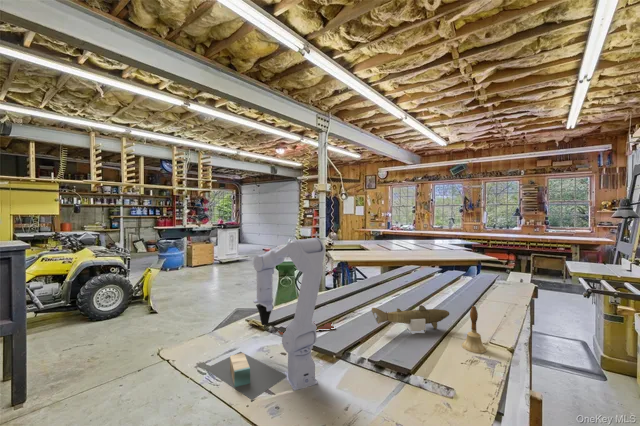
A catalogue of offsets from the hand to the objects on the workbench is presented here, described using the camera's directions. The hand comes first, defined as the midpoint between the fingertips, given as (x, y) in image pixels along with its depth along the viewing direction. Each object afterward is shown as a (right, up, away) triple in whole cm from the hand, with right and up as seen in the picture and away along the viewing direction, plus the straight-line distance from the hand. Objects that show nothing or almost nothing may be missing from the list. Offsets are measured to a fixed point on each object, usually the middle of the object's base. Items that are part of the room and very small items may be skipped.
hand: (264, 324), depth 105 cm
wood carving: (+59, -10, +18) cm, 63 cm away
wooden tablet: (+14, -11, +21) cm, 27 cm away
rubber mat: (-4, -11, -13) cm, 18 cm away
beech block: (-7, -8, -11) cm, 15 cm away
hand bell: (+79, -11, +4) cm, 80 cm away
